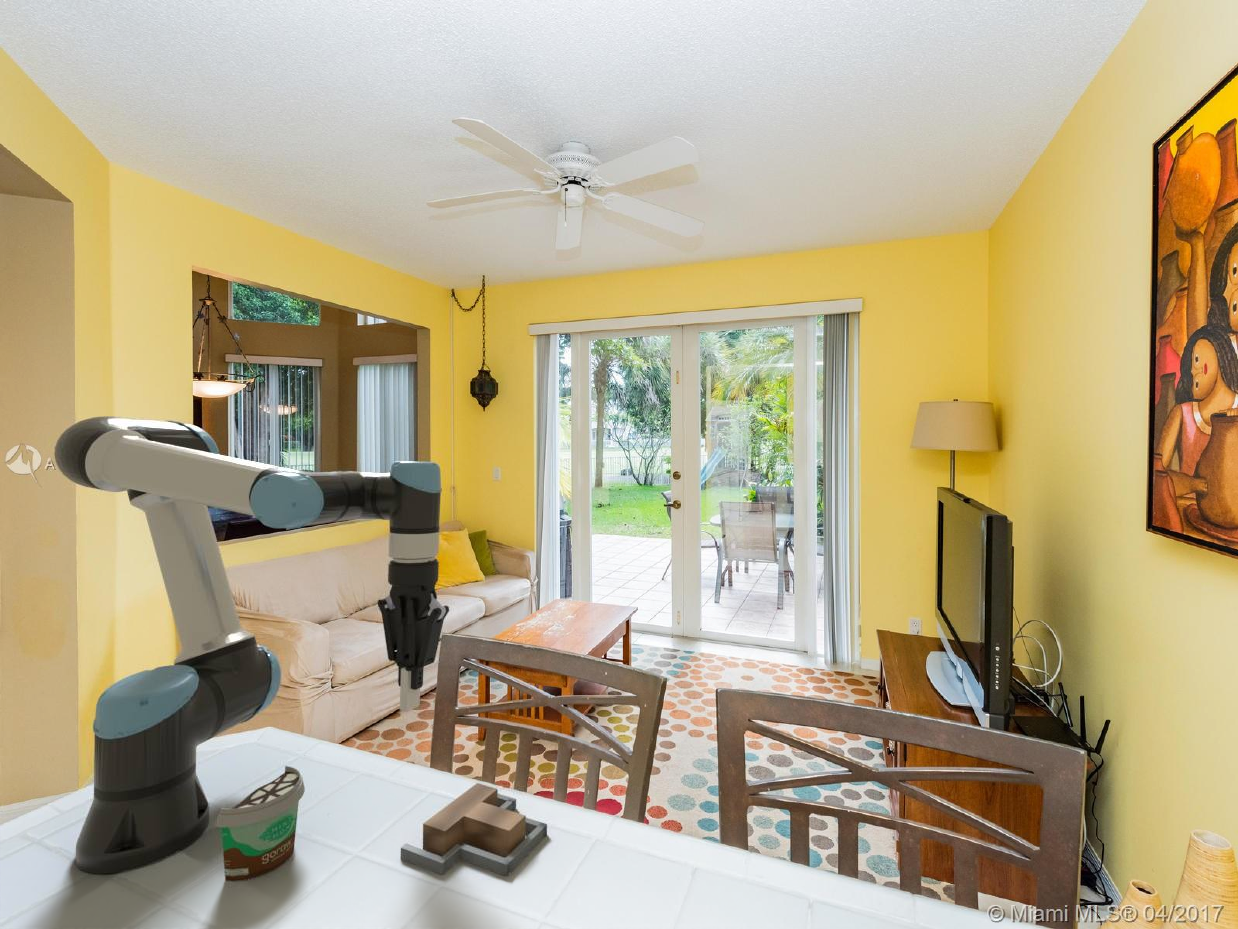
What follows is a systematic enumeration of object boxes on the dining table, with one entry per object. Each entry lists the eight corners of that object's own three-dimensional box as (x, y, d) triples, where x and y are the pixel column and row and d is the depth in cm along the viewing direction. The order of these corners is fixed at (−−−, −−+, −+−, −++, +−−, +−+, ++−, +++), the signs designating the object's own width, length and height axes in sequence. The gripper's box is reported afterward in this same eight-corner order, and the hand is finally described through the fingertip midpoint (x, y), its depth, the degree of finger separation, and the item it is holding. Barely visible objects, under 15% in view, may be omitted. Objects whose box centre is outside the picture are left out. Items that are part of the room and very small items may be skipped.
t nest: (400, 858, 82) (400, 847, 82) (478, 797, 97) (478, 787, 97) (490, 893, 75) (490, 881, 75) (559, 821, 90) (559, 811, 90)
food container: (256, 896, 74) (257, 817, 74) (215, 888, 75) (216, 811, 76) (323, 836, 86) (324, 768, 86) (287, 831, 88) (288, 764, 88)
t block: (422, 852, 83) (423, 823, 83) (477, 808, 94) (477, 783, 94) (491, 877, 78) (491, 847, 78) (540, 828, 89) (540, 801, 89)
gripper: (462, 559, 93) (458, 707, 93) (401, 552, 99) (397, 692, 98) (428, 566, 86) (424, 726, 86) (364, 557, 92) (360, 708, 92)
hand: (409, 707), depth 92 cm, fingers closed
